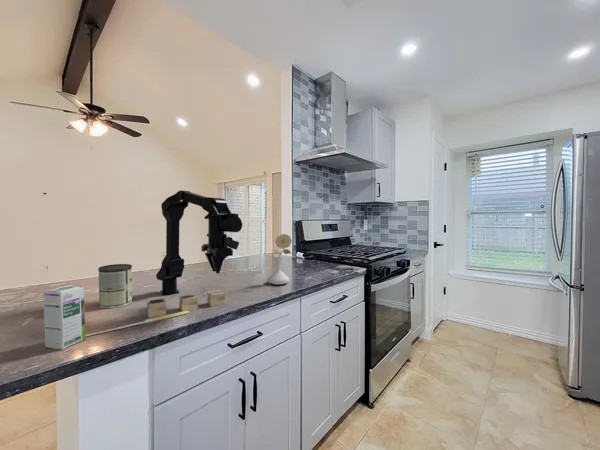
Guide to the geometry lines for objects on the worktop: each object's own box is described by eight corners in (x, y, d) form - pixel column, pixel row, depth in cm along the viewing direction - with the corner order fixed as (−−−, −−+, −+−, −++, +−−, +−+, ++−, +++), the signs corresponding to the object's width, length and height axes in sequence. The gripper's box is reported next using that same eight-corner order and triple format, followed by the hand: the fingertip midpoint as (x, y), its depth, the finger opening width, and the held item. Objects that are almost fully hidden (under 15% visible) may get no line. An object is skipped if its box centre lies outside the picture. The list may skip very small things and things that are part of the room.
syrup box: (62, 350, 65) (61, 291, 64) (44, 347, 66) (42, 289, 66) (85, 339, 70) (85, 285, 70) (68, 337, 72) (67, 284, 71)
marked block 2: (179, 308, 95) (179, 295, 95) (193, 305, 98) (193, 293, 98) (182, 312, 91) (182, 299, 91) (197, 309, 94) (197, 296, 94)
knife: (59, 337, 71) (59, 340, 68) (185, 309, 94) (190, 310, 90) (59, 342, 71) (59, 345, 68) (185, 312, 93) (190, 314, 90)
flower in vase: (262, 284, 129) (262, 233, 129) (273, 279, 140) (273, 232, 139) (286, 287, 124) (287, 234, 124) (296, 282, 135) (296, 233, 134)
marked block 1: (147, 314, 90) (147, 300, 89) (163, 311, 93) (163, 297, 92) (149, 318, 86) (149, 304, 85) (166, 315, 89) (166, 301, 88)
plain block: (207, 303, 101) (207, 291, 101) (220, 301, 104) (220, 289, 104) (211, 307, 97) (211, 295, 97) (224, 304, 100) (224, 292, 100)
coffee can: (96, 303, 99) (96, 266, 98) (128, 297, 106) (128, 262, 106) (101, 310, 92) (100, 270, 91) (135, 304, 99) (135, 266, 98)
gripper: (246, 232, 97) (246, 274, 97) (228, 229, 112) (228, 266, 113) (216, 232, 90) (216, 278, 91) (201, 230, 106) (201, 269, 106)
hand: (216, 272), depth 100 cm, fingers open, 4 cm apart
